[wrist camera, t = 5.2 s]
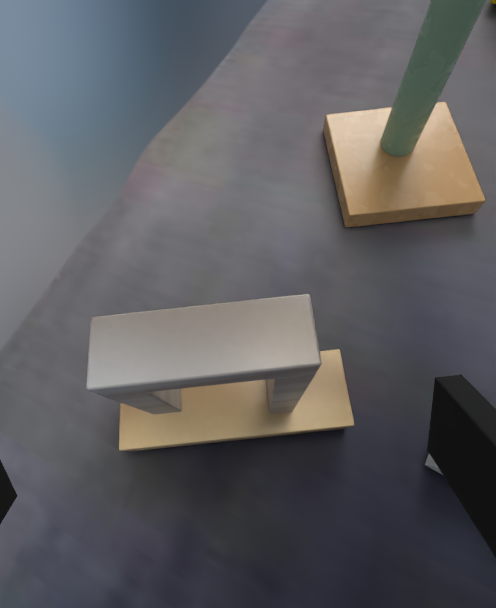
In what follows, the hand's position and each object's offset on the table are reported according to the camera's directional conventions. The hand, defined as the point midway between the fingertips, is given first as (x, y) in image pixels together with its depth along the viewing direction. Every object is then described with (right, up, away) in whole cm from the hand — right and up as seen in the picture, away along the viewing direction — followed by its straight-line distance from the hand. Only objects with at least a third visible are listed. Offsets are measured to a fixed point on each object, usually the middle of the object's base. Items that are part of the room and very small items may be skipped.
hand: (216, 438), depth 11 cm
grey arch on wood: (0, -2, +11) cm, 11 cm away
